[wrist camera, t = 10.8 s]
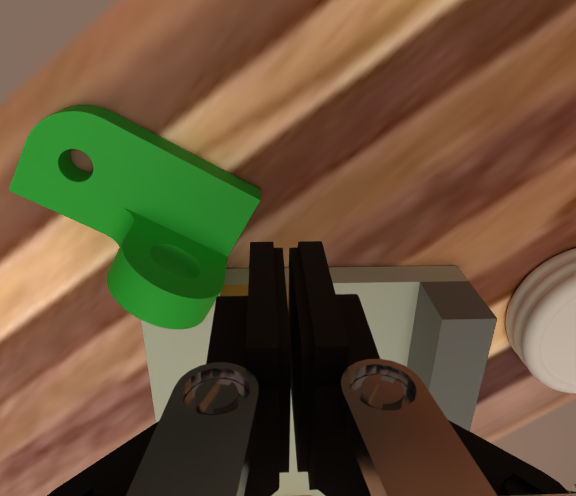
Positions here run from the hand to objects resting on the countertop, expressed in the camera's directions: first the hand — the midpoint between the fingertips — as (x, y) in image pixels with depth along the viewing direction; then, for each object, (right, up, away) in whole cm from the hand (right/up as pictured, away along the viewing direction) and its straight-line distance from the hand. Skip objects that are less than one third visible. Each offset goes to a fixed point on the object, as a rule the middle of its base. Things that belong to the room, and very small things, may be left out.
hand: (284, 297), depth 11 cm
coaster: (+20, -3, +22) cm, 30 cm away
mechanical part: (-8, +5, +17) cm, 19 cm away
